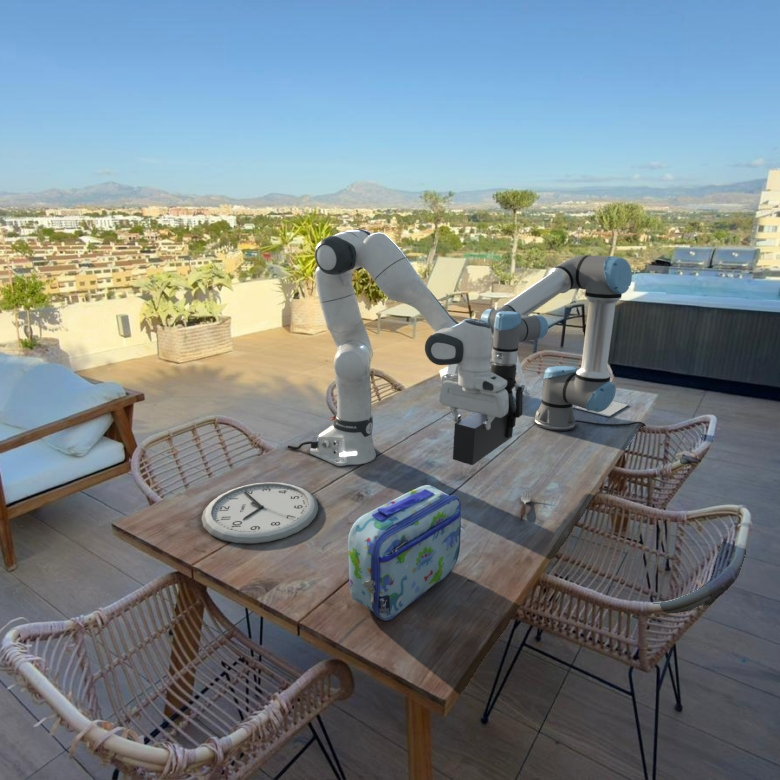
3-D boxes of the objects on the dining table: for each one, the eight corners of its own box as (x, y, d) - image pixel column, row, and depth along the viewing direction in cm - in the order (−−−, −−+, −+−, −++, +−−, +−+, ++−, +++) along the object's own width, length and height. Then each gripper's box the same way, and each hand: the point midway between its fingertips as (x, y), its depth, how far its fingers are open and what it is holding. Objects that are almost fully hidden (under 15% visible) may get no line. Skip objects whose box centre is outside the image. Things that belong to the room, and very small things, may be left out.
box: (493, 432, 171) (496, 400, 167) (512, 437, 167) (515, 404, 164) (452, 459, 150) (454, 423, 147) (472, 465, 147) (475, 428, 143)
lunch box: (378, 635, 98) (379, 537, 91) (341, 606, 105) (340, 513, 99) (464, 574, 115) (470, 488, 109) (427, 553, 122) (431, 471, 116)
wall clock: (315, 535, 126) (186, 539, 123) (315, 541, 126) (187, 545, 123) (320, 478, 154) (216, 480, 152) (320, 483, 155) (216, 485, 152)
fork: (515, 521, 136) (516, 514, 135) (522, 493, 150) (523, 487, 150) (525, 523, 135) (526, 516, 135) (531, 495, 150) (532, 489, 149)
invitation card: (608, 416, 214) (573, 407, 224) (608, 416, 214) (573, 408, 224) (628, 404, 229) (594, 396, 238) (628, 405, 229) (594, 397, 238)
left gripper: (436, 374, 148) (434, 420, 152) (502, 387, 136) (499, 436, 140) (447, 369, 153) (445, 414, 157) (513, 382, 141) (509, 429, 145)
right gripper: (469, 360, 161) (465, 429, 168) (529, 371, 150) (522, 445, 157) (481, 355, 167) (476, 423, 174) (539, 366, 156) (532, 437, 163)
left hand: (471, 425), depth 148 cm, fingers open, 8 cm apart
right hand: (498, 433), depth 166 cm, fingers closed on box, 6 cm apart
